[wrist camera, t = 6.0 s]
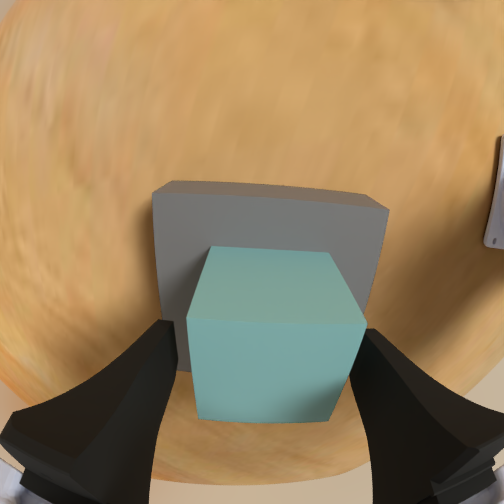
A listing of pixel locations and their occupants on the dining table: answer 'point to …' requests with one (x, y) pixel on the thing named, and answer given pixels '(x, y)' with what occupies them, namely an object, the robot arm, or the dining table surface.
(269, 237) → the charcoal plinth
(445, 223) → the dining table surface
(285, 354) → the teal cube
